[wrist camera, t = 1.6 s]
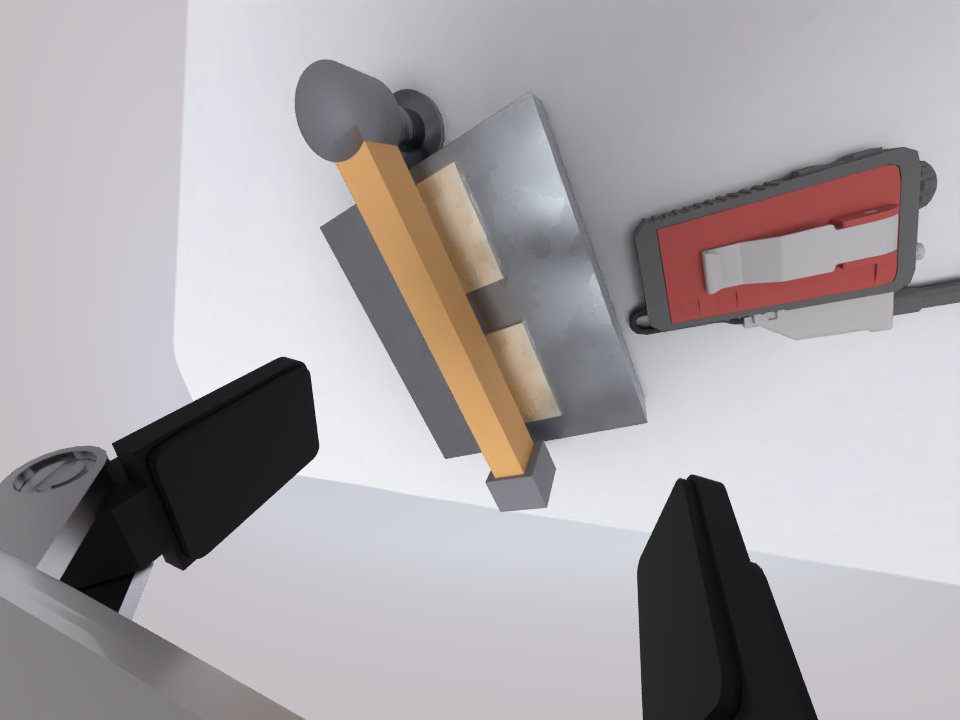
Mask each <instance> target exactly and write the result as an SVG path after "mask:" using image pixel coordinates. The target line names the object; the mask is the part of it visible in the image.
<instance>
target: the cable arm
mask: <svg viewBox="0 0 960 720" xmlns="http://www.w3.org/2000/svg"><path fill="white" fill-rule="evenodd" d="M295 113H296V118H297V122H298V126H299V128H300V131H301V133H302V135H303V137H304V139H305V141H306V142H307V144H308V145H309V147H310V148H311V149H312V150H313V151H314V152H315V153H316V154H317V155H319V156H320V157H321V158H323V159H325V160H328V161H331V162H335V163H336V165H337V167H338V169H339V171H340V173H341V175H342V177H343V179H344V181H345V183H346V185H347V187H348V189H349V191H350V193H351V195H352V197H353V199H354V201H355V203H356V204H357V206H358V208H359V210H360V212H361V214H362V216H363V218H364V220H365V222H366V224H367V226H368V228H369V230H370V232H371V234H372V236H373V238H374V240H375V242H376V244H377V246H378V248H379V250H380V252H381V254H382V256H383V258H384V260H385V262H386V264H387V266H388V268H389V270H390V272H391V274H392V276H393V278H394V279H395V281H396V283H397V285H398V287H399V289H400V291H401V293H402V295H403V297H404V299H405V301H406V303H407V305H408V307H409V309H410V311H411V313H412V315H413V317H414V319H415V321H416V323H417V325H418V327H419V329H420V331H421V333H422V335H423V337H424V339H425V341H426V343H427V345H428V347H429V349H430V351H431V353H432V354H433V356H434V358H435V360H436V362H437V364H438V366H439V368H440V370H441V372H442V374H443V376H444V378H445V380H446V382H447V384H448V386H449V388H450V390H451V392H452V394H453V396H454V398H455V400H456V402H457V404H458V406H459V408H460V410H461V412H462V414H463V416H464V418H465V420H466V422H467V424H468V426H469V428H470V430H471V431H472V433H473V435H474V437H475V439H476V441H477V443H478V445H479V447H480V449H481V451H482V453H483V455H484V457H485V459H486V461H487V463H488V465H489V467H490V469H491V471H490V474H489V476H488V478H487V480H486V482H485V483H486V485H487V487H488V488H489V490H490V492H491V494H492V496H493V498H494V500H495V502H496V504H497V506H498V508H499V510H500V511H501V512H504V511H515V510H526V509H537V508H547V505H548V501H549V496H550V492H551V488H552V483H553V479H554V474H555V470H556V468H555V465H554V463H553V461H552V459H551V457H550V454H549V452H548V450H547V448H546V445H545V443H544V441H543V440H540V441H535V442H533V441H532V439H531V437H530V434H529V432H528V430H527V428H526V426H525V423H524V421H523V419H522V417H521V415H520V412H519V410H518V408H517V406H516V404H515V402H514V399H513V397H512V395H511V393H510V391H509V388H508V386H507V384H506V382H505V380H504V378H503V375H502V373H501V371H500V369H499V367H498V364H497V362H496V360H495V358H494V356H493V354H492V351H491V349H490V347H489V345H488V343H487V340H486V338H485V336H484V334H483V332H482V329H481V327H480V325H479V323H478V321H477V319H476V316H475V314H474V312H473V310H472V308H471V305H470V303H469V301H468V299H467V297H466V295H465V292H464V290H463V288H462V286H461V284H460V281H459V279H458V277H457V275H456V273H455V271H454V268H453V266H452V264H451V262H450V260H449V257H448V255H447V253H446V251H445V249H444V247H443V244H442V242H441V240H440V238H439V236H438V233H437V231H436V229H435V227H434V225H433V222H432V220H431V218H430V216H429V214H428V212H427V209H426V207H425V205H424V203H423V201H422V198H421V196H420V194H419V192H418V190H417V188H416V185H415V183H414V181H413V179H412V177H411V174H410V172H409V170H408V168H407V166H406V164H405V161H404V159H403V157H402V155H401V153H400V150H399V148H398V146H397V145H398V142H399V139H400V135H401V116H400V111H399V107H398V104H397V101H396V99H395V97H394V95H393V94H392V92H391V91H390V90H389V88H388V87H387V86H386V85H385V84H384V83H383V82H381V81H380V80H378V79H376V78H374V77H371V76H369V75H367V74H364V73H362V72H359V71H357V70H355V69H352V68H350V67H347V66H345V65H343V64H340V63H338V62H336V61H332V60H319V61H316V62H314V63H312V64H311V65H309V66H308V67H307V68H306V69H305V71H304V72H303V73H302V75H301V77H300V79H299V81H298V84H297V88H296V93H295Z"/></svg>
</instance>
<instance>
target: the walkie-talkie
mask: <svg viewBox="0 0 960 720" xmlns="http://www.w3.org/2000/svg"><path fill="white" fill-rule="evenodd" d="M936 187H937V177H936V173H935V171H934V169H933V168H932V166H931V165H930V164H928V163H927V162H925V161H920V160H919V156H918V151H916V150H913V149H909V148H906V147H900V148H892V149H883V150H882V147H880V148H873V149H868V150H864V151H861V152H858V153H854V154H851V155H848V156H845V157H844V158H843V159H842V160H841V161H839V162H835V163H832V164H829V165H825V166H823V165H817V166H811V167H807V168H804V169H801V170H797V171H794V172H791V176H788V177H785V178H781V179H778V180H774V181H771V182H767V183H764V185H763V186H753V187H752V188H751V189H750V190H744V189H743V190H740V191H739V193H729V194H728V195H727V196H726V197H720V196H719V197H716V200H712V201H711V200H706V201H705V203H702V204H698V203H696V204H694V206H692V207H687V206H686V207H683V209H682V210H678V211H677V210H676V209H675V210H672V212H671V213H668V214H666V213H662V215H661V216H658V217H656V216H652V218H651V219H648V220H645V219H643V220H642V222H641V223H640V225H639V226H638V227H637V229H636V230H635V232H634V238H635V244H636V250H637V255H638V261H639V267H640V272H641V278H642V283H643V289H644V295H645V300H646V307H645V308H641V309H638V310H636V311H634V312H633V313H632V315H631V316H630V328H631V330H632V331H634V332H635V333H637V334H645V335H648V334H654V333H660V332H666V331H671V330H672V331H673V330H677V329H684V328H689V327H696V326H700V325H707V324H712V323H719V322H726V323H730V324H742V325H743V326H744V328H751V327H757V326H761V327H763V328H766V329H769V330H771V331H774V332H776V333H779V334H781V335H784V336H786V337H789V338H792V339H794V340H802V339H808V338H815V337H822V336H829V335H836V334H843V333H850V332H857V331H864V330H868V331H871V332H876V331H882V330H889V329H891V328H892V321H893V315H900V314H907V313H913V312H918V311H920V310H921V309H922V308H927V307H933V306H939V305H946V304H952V303H959V302H960V281H957V282H951V283H945V284H940V285H934V286H928V287H922V288H915V287H907V288H903V287H905V286H906V285H908V284H909V283H910V282H911V279H912V277H913V274H914V271H915V263H916V260H920V259H922V258H923V257H924V254H925V249H924V246H923V244H921V243H918V242H917V230H918V213H919V208H922V207H924V206H926V205H927V204H928V203H929V202H930V201H931V199H932V197H933V195H934V193H935V191H936ZM707 207H708V208H707ZM645 315H648V317H649V321H650V326H648V327H643V326H638V325H637V324H636V320H637V319H638V318H639V317H641V316H645Z"/></svg>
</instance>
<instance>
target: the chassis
mask: <svg viewBox="0 0 960 720" xmlns="http://www.w3.org/2000/svg"><path fill="white" fill-rule="evenodd" d="M409 172H410V174H411V177H412V179H413V181H414V183H415V185H416V188H417V190H418V192H419V194H420V196H421V198H422V201H423V203H424V205H425V207H426V209H427V212H428V214H429V216H430V218H431V220H432V222H433V225H434V227H435V229H436V231H437V233H438V236H439V238H440V240H441V242H442V244H443V247H444V249H445V251H446V253H447V255H448V257H449V260H450V262H451V264H452V266H453V268H454V271H455V273H456V275H457V277H458V279H459V281H460V284H461V286H462V288H463V290H464V292H465V295H466V297H467V299H468V301H469V303H470V305H471V308H472V310H473V312H474V314H475V316H476V319H477V321H478V323H479V325H480V327H481V329H482V332H483V334H484V336H485V338H486V340H487V343H488V345H489V347H490V349H491V351H492V354H493V356H494V358H495V360H496V362H497V364H498V367H499V369H500V371H501V373H502V375H503V378H504V380H505V382H506V384H507V386H508V388H509V391H510V393H511V395H512V397H513V399H514V402H515V404H516V406H517V408H518V410H519V412H520V415H521V417H522V419H523V421H524V423H525V426H526V428H527V430H528V432H529V434H530V437H531V439H532V441H533V442H535V441H540V440H543V441H548V440H554V439H560V438H565V437H571V436H576V435H582V434H588V433H593V432H599V431H604V430H610V429H616V428H621V427H627V426H632V425H638V424H643V423H647V414H646V405H645V398H644V395H643V392H642V390H641V387H640V384H639V381H638V378H637V375H636V372H635V369H634V367H633V364H632V361H631V358H630V355H629V352H628V349H627V346H626V344H625V341H624V338H623V335H622V332H621V329H620V326H619V323H618V321H617V318H616V315H615V312H614V309H613V306H612V303H611V301H610V298H609V295H608V292H607V289H606V286H605V283H604V280H603V278H602V275H601V272H600V269H599V266H598V263H597V260H596V257H595V255H594V252H593V249H592V246H591V243H590V240H589V237H588V234H587V232H586V229H585V226H584V223H583V220H582V217H581V214H580V211H579V209H578V206H577V203H576V200H575V197H574V194H573V191H572V188H571V186H570V183H569V180H568V177H567V174H566V171H565V168H564V165H563V163H562V160H561V157H560V154H559V151H558V148H557V145H556V142H555V140H554V137H553V134H552V131H551V128H550V125H549V122H548V119H547V117H546V114H545V111H544V108H543V105H542V102H541V101H540V100H539V99H538V98H537V97H536V96H535V95H534V94H533V93H532V92H531V91H530V92H528V93H527V94H525V95H524V96H522V97H521V98H519V99H518V100H516V101H515V102H513V103H511V104H510V105H508V106H507V107H505V108H504V109H502V110H501V111H499V112H497V113H496V114H494V115H493V116H491V117H490V118H488V119H487V120H485V121H484V122H482V123H480V124H479V125H477V126H476V127H474V128H473V129H471V130H470V131H468V132H467V133H465V134H463V135H462V136H460V137H459V138H457V139H456V140H454V141H453V142H451V143H450V144H448V145H446V146H445V147H443V148H442V149H440V150H439V151H437V152H436V153H434V154H433V155H431V156H429V157H428V158H426V159H425V160H423V161H422V162H420V163H419V164H417V165H416V166H414V167H412V168H411V169H409ZM320 229H321V231H322V232H323V234H324V236H325V238H326V240H327V242H328V244H329V245H330V247H331V249H332V251H333V253H334V255H335V256H336V258H337V260H338V262H339V264H340V266H341V268H342V269H343V271H344V273H345V275H346V277H347V279H348V280H349V282H350V284H351V286H352V288H353V290H354V292H355V293H356V295H357V297H358V299H359V301H360V303H361V304H362V306H363V308H364V310H365V312H366V314H367V316H368V317H369V319H370V321H371V323H372V325H373V327H374V328H375V330H376V332H377V334H378V336H379V338H380V339H381V341H382V343H383V345H384V347H385V349H386V351H387V352H388V354H389V356H390V358H391V360H392V362H393V363H394V365H395V367H396V369H397V371H398V373H399V375H400V376H401V378H402V380H403V382H404V384H405V386H406V387H407V389H408V391H409V393H410V395H411V397H412V399H413V400H414V402H415V404H416V406H417V408H418V410H419V411H420V413H421V415H422V417H423V419H424V421H425V423H426V424H427V426H428V428H429V430H430V432H431V434H432V435H433V437H434V439H435V441H436V443H437V445H438V447H439V448H440V450H441V452H442V454H443V456H444V458H445V459H448V458H453V457H459V456H465V455H470V454H476V453H481V452H482V451H481V449H480V447H479V445H478V443H477V441H476V439H475V437H474V435H473V433H472V431H471V430H470V428H469V426H468V424H467V422H466V420H465V418H464V416H463V414H462V412H461V410H460V408H459V406H458V404H457V402H456V400H455V398H454V396H453V394H452V392H451V390H450V388H449V386H448V384H447V382H446V380H445V378H444V376H443V374H442V372H441V370H440V368H439V366H438V364H437V362H436V360H435V358H434V356H433V354H432V353H431V351H430V349H429V347H428V345H427V343H426V341H425V339H424V337H423V335H422V333H421V331H420V329H419V327H418V325H417V323H416V321H415V319H414V317H413V315H412V313H411V311H410V309H409V307H408V305H407V303H406V301H405V299H404V297H403V295H402V293H401V291H400V289H399V287H398V285H397V283H396V281H395V279H394V278H393V276H392V274H391V272H390V270H389V268H388V266H387V264H386V262H385V260H384V258H383V256H382V254H381V252H380V250H379V248H378V246H377V244H376V242H375V240H374V238H373V236H372V234H371V232H370V230H369V228H368V226H367V224H366V222H365V220H364V218H363V216H362V214H361V212H360V210H359V208H358V206H357V204H355V205H354V206H352V207H351V208H349V209H347V210H346V211H344V212H343V213H341V214H340V215H338V216H337V217H335V218H334V219H332V220H330V221H329V222H327V223H326V224H324V225H323V226H321V227H320Z"/></svg>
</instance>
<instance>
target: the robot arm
mask: <svg viewBox="0 0 960 720" xmlns="http://www.w3.org/2000/svg"><path fill="white" fill-rule="evenodd" d="M112 445H113V447H114V449H115V452H116V454H117V456H118V457H117V458H115V459H113V460H111V461H110V460H109V458H108V455H107V453H106V451H104V450H103V449H101V448H99V447H94V446H76V447H71V448H66V449H61V450H57V451H54V452H51V453H48V454H45V455H43V456H40V457H38V458H36V459H33V460H31V461H29V462H27V463H26V464H24V465H22V466H21V467H19V468H17V469H16V470H14V471H13V472H12V473H11V474H10V475H9V476H7V477H6V478H5V479H4V480H3V481H2V482H1V483H0V720H305V719H303V718H302V717H300V716H298V715H297V714H295V713H293V712H291V711H290V710H288V709H286V708H284V707H283V706H281V705H279V704H277V703H276V702H274V701H272V700H270V699H269V698H267V697H265V696H263V695H262V694H260V693H258V692H256V691H255V690H253V689H251V688H249V687H248V686H246V685H244V684H242V683H240V682H239V681H237V680H235V679H234V678H232V677H230V676H228V675H227V674H225V673H223V672H221V671H220V670H218V669H216V668H214V667H213V666H211V665H209V664H207V663H205V662H204V661H202V660H200V659H198V658H197V657H195V656H193V655H191V654H190V653H188V652H186V651H184V650H183V649H181V648H179V647H177V646H176V645H174V644H172V643H170V642H168V641H167V640H165V639H163V638H162V637H160V636H158V635H156V634H154V633H153V632H151V631H149V630H147V629H146V628H144V627H142V626H140V625H138V624H137V623H135V622H133V621H132V618H133V616H134V613H135V610H136V608H137V605H138V603H139V600H140V597H141V595H142V592H143V590H144V587H145V584H146V582H147V579H148V577H149V574H150V572H151V569H152V566H153V563H154V560H156V559H157V558H158V557H159V556H160V555H163V557H164V559H165V561H166V562H167V563H169V564H171V565H173V566H175V567H177V568H179V569H181V570H185V569H186V568H187V567H188V566H189V565H190V564H192V563H193V562H194V561H195V560H196V559H200V558H202V557H204V556H205V555H207V554H208V553H209V552H210V551H211V550H213V549H214V548H215V547H216V546H217V545H218V544H219V543H220V542H222V541H223V540H224V539H225V538H226V537H227V536H228V535H229V534H230V533H232V532H233V531H234V530H235V529H236V528H237V527H238V526H239V525H240V524H242V523H243V522H244V521H245V520H246V519H247V518H248V517H249V516H250V515H252V514H253V513H254V512H255V511H256V510H257V509H258V508H259V507H260V506H262V505H263V504H264V503H265V502H266V501H267V500H268V499H269V498H270V497H271V496H273V495H274V494H275V493H276V492H277V491H278V490H279V489H280V488H282V487H283V486H284V485H285V484H286V483H287V482H288V481H289V480H290V479H292V478H293V477H294V476H295V475H296V474H297V473H298V472H299V471H300V470H302V469H303V468H304V467H305V466H306V465H307V464H308V463H309V462H310V461H312V460H313V459H314V457H315V456H316V455H317V453H318V450H319V440H318V432H317V424H316V416H315V408H314V400H313V392H312V384H311V376H310V372H309V370H308V369H307V367H306V365H305V364H304V363H303V362H301V361H297V360H294V359H290V358H287V357H280V358H277V359H275V360H273V361H271V362H269V363H267V364H266V365H264V366H262V367H260V368H258V369H256V370H254V371H252V372H250V373H248V374H246V375H244V376H242V377H240V378H238V379H236V380H234V381H232V382H231V383H229V384H227V385H225V386H223V387H221V388H219V389H217V390H215V391H213V392H211V393H209V394H207V395H205V396H203V397H201V398H199V399H198V400H196V401H194V402H192V403H190V404H188V405H186V406H184V407H182V408H180V409H178V410H176V411H174V412H172V413H170V414H168V415H167V416H164V417H163V418H161V419H159V420H157V421H155V422H153V423H151V424H149V425H147V426H145V427H143V428H141V429H139V430H137V431H135V432H133V433H132V434H130V435H128V436H126V437H124V438H122V439H120V440H118V441H116V442H114V443H112ZM637 584H638V606H639V607H638V609H639V633H640V659H641V683H642V709H643V720H818V718H817V715H816V713H815V710H814V707H813V704H812V702H811V699H810V696H809V693H808V691H807V688H806V685H805V683H804V680H803V677H802V674H801V672H800V669H799V666H798V663H797V661H796V658H795V655H794V652H793V650H792V647H791V644H790V642H789V639H788V636H787V633H786V631H785V628H784V625H783V622H782V620H781V617H780V614H779V611H778V609H777V606H776V604H775V600H774V598H773V595H772V592H771V589H770V587H769V584H768V581H767V579H766V576H765V574H764V572H763V570H762V569H761V568H760V567H759V566H758V565H757V564H756V563H753V562H750V559H749V556H748V553H747V550H746V547H745V544H744V541H743V538H742V535H741V532H740V529H739V527H738V524H737V521H736V518H735V515H734V512H733V509H732V506H731V503H730V500H729V497H728V494H727V491H726V488H725V486H724V484H722V483H721V482H717V481H714V480H710V479H707V478H703V477H700V476H696V475H690V476H689V477H688V478H687V480H685V479H682V478H679V479H678V480H677V481H676V483H675V485H674V487H673V489H672V492H671V494H670V496H669V498H668V500H667V502H666V504H665V506H664V509H663V511H662V513H661V515H660V517H659V519H658V521H657V523H656V525H655V528H654V530H653V532H652V534H651V536H650V538H649V540H648V543H647V545H646V547H645V549H644V551H643V553H642V555H641V557H640V560H639V564H638V571H637Z"/></svg>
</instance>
